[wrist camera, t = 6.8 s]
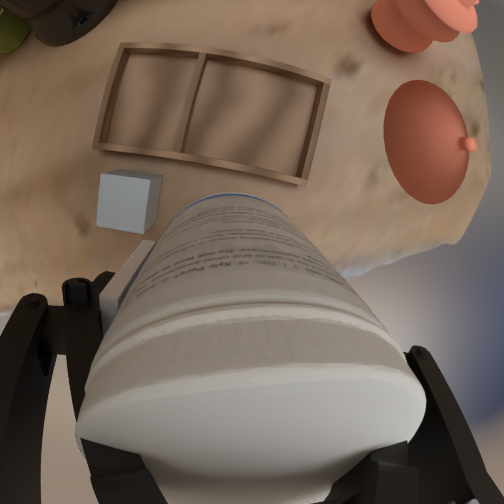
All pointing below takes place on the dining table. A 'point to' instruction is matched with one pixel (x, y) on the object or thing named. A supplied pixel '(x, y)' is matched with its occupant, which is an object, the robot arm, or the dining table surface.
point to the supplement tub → (246, 364)
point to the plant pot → (12, 31)
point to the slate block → (128, 200)
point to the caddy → (213, 109)
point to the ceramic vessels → (425, 100)
